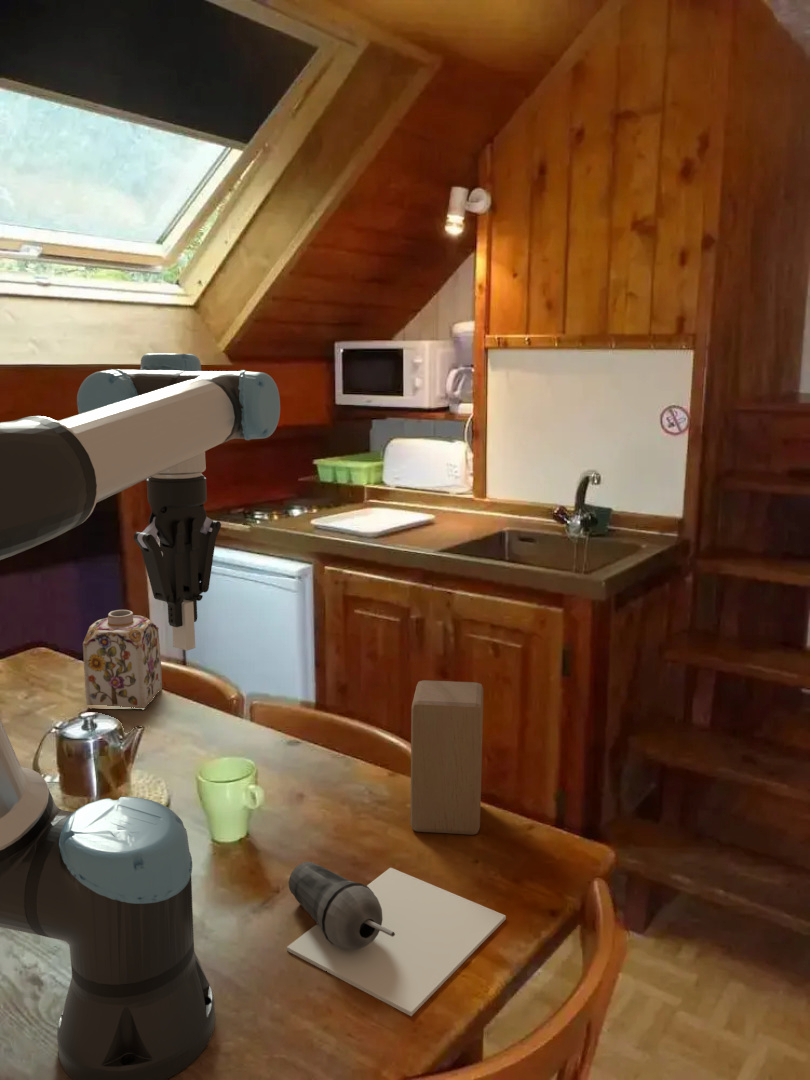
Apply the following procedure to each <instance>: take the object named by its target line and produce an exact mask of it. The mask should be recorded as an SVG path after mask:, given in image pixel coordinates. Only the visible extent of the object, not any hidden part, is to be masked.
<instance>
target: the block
mask: <svg viewBox="0 0 810 1080" xmlns="http://www.w3.org/2000/svg"><path fill="white" fill-rule="evenodd" d="M412 699H413V700H412V703H411V711H410V712H411V715H410V716H411V719H410V721H411V723H410V724H411V725H410V727H411V728H410V730H411V731H410V734H411V735H410V738H411V739H410V826H411V828H412V830H413V831H415V832H419V833H420V832H422V833H438V834H440V833H441V834H455V835H457V834H458V835H460V834H461V835H471V836H472V835H473V836H474V835H476V834H478V833H479V831H480V829H481V807H482V806H481V804H482V803H481V801H482V800H481V799H482V798H481V797H482V767H483V766H482V763H483V762H482V760H483V723H484V722H483V721H484V687H483V685H482V683H479V682H473V681H472V682H471V681H447V680H428V679H427V680H425V679H422V680H420V681H418V682H417V684H416V686H415V692H414V695H413V698H412Z"/></svg>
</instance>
